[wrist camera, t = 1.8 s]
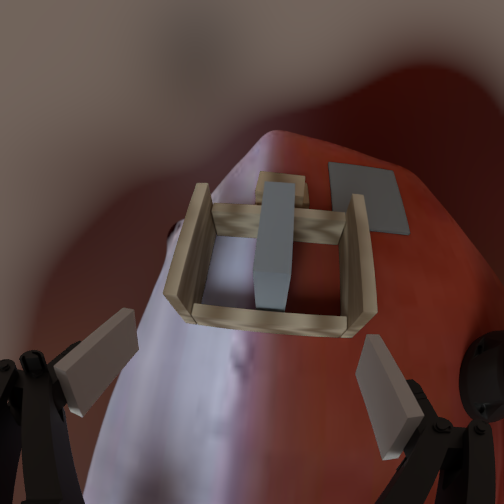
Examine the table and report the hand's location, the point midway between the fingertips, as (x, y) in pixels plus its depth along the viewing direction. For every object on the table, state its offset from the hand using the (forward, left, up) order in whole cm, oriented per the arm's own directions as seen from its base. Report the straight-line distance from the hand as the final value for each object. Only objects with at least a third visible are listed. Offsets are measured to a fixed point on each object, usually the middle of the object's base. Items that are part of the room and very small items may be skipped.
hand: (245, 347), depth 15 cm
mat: (-17, -33, -21) cm, 43 cm away
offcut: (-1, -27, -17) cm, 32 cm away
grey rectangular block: (-1, -15, -21) cm, 26 cm away
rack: (-1, -15, -21) cm, 26 cm away
